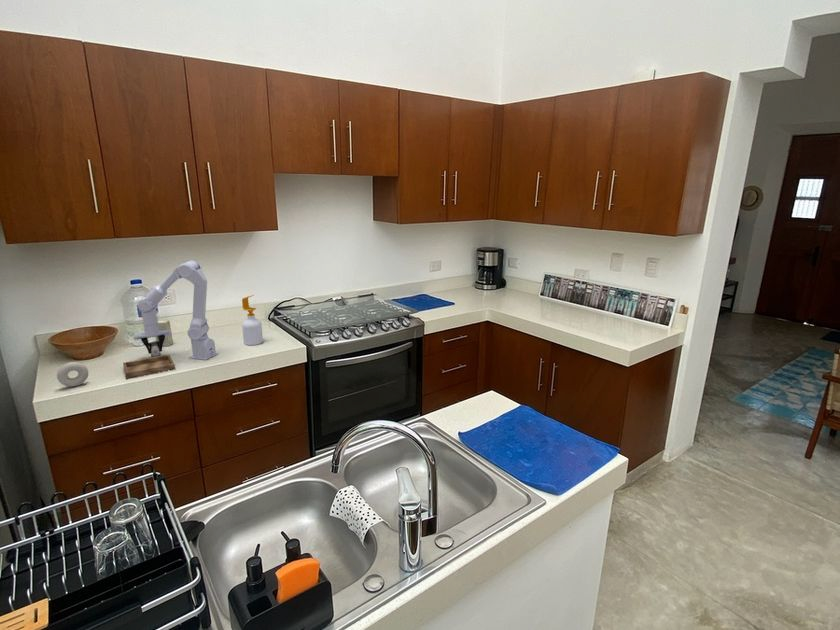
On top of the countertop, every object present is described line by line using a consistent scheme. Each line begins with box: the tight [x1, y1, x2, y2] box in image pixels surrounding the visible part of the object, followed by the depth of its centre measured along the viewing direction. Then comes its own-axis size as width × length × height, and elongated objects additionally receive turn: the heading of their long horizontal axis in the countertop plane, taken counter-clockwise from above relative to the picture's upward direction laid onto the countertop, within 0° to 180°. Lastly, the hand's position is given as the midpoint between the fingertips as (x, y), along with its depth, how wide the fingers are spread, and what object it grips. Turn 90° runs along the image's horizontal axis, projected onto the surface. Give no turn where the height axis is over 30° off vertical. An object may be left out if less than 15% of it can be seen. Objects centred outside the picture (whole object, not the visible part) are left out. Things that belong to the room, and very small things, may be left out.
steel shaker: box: [149, 340, 162, 358], centre depth 209 cm, size 4×4×7 cm
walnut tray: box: [122, 354, 176, 380], centre depth 196 cm, size 18×14×2 cm
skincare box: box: [154, 320, 174, 347], centre depth 224 cm, size 6×4×12 cm
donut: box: [56, 361, 89, 387], centre depth 178 cm, size 10×4×10 cm, turn 133°
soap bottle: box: [241, 294, 264, 346], centre depth 227 cm, size 9×9×25 cm
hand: (155, 352), depth 209 cm, fingers closed on steel shaker, 4 cm apart
